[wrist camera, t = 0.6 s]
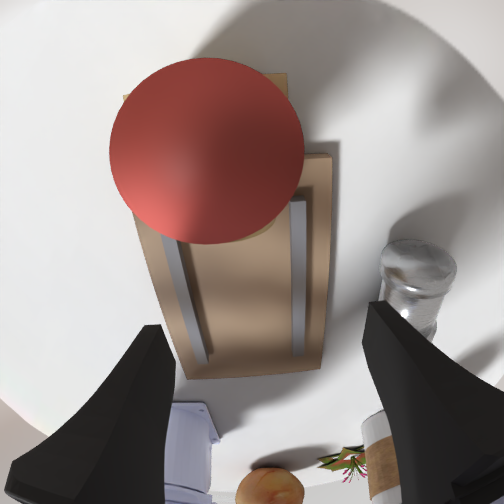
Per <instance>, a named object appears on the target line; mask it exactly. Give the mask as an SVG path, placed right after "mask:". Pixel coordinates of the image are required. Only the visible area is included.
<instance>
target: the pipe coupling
mask: <svg viewBox="0 0 504 504" xmlns="http://www.w3.org/2000/svg"><path fill="white" fill-rule="evenodd" d="M379 270H380V275H381V277H382V283H381V289H380V294H379V299H378V301H382V300H386V301H387V302H388V303H389V304H390V305H391V306H392V307H393V308H394V309H395V310H396V311H397V312H398V313H399V314H400V315H402V316H403V317H404V318H405V319H406V320H407V321H408V322H409V323H410V324H411V325H412V326H413V327H414V328H415V329H416V330H417V331H419V332H420V333H421V334H422V335H423V336H424V337H425V338H426V339H427V340H429V341H430V342H432V340H433V337H434V335H435V332H436V329H437V322H436V318H437V316H438V313H439V310H440V307H441V304H442V301H443V298H444V295H445V294H447V293H448V292H449V291H450V289H451V288H452V285H453V282H454V279H455V275H456V272H457V266H456V263H455V261H454V259H453V258H452V257H451V256H450V255H449V254H448V253H447V252H446V251H445V250H443V249H442V248H440V247H438V246H436V245H434V244H431V243H428V242H424V241H419V240H399V241H395V242H392V243H390V244H389V245H387V246H386V247H385V248H384V249H383V251H382V256H381V262H380V269H379Z"/></svg>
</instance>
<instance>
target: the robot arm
mask: <svg viewBox="0 0 504 504" xmlns="http://www.w3.org/2000/svg"><path fill="white" fill-rule="evenodd" d="M362 345H363V349H364V353H365V357H366V361H367V365H368V368H369V371H370V373H371V376H372V379H373V381H374V384H375V387H376V389H377V392H378V394H379V397H380V400H381V402H382V405H383V408H384V410H385V413H386V416H387V419H388V422H389V425H390V430H391V434H392V439H393V443H394V448H395V453H396V459H397V465H398V471H399V479H400V487H401V499H402V504H504V392H503V391H501V390H499V389H497V388H495V387H493V386H492V385H490V384H488V383H486V382H485V381H483V380H481V379H480V378H478V377H476V376H475V375H473V374H472V373H470V372H469V371H467V370H466V369H464V368H463V367H461V366H460V365H459V364H457V363H456V362H454V361H453V360H452V359H450V358H449V357H448V356H447V355H445V354H444V353H443V352H442V351H440V350H439V349H438V348H437V347H436V346H434V345H433V344H432V343H431V342H430V341H429V340H427V339H426V338H425V337H424V336H423V335H422V334H421V333H420V332H419V331H417V330H416V329H415V328H414V327H413V326H412V325H411V324H410V323H409V322H408V321H407V320H406V319H405V318H404V317H403V316H402V315H400V314H399V313H398V312H397V311H396V310H395V309H394V308H393V307H392V306H391V305H390V304H389V303H388V302H387V301H386V300H382V301H376V302H369V306H368V312H367V318H366V323H365V329H364V334H363V339H362ZM175 370H176V361H175V359H174V356H173V354H172V351H171V349H170V347H169V344H168V342H167V339H166V337H165V334H164V332H163V329H162V326H161V324H159V325H145V326H144V327H143V328H142V329H141V331H140V332H139V334H138V335H137V336H136V338H135V339H134V341H133V342H132V344H131V345H130V346H129V348H128V349H127V351H126V352H125V354H124V355H123V356H122V358H121V359H120V361H119V362H118V363H117V365H116V366H115V367H114V369H113V370H112V372H111V373H110V374H109V376H108V377H107V378H106V379H105V381H104V382H103V383H102V384H101V386H100V387H99V388H98V389H97V391H96V392H95V393H94V394H93V395H92V397H91V398H90V399H89V400H88V401H87V402H86V403H85V404H84V405H83V406H82V407H81V409H80V410H79V411H78V412H77V413H76V414H75V415H74V416H72V417H71V418H70V419H69V420H68V421H67V422H66V423H65V424H64V425H63V426H61V427H60V428H59V429H58V430H57V431H56V432H55V433H53V434H52V435H51V436H50V437H48V438H47V439H46V440H44V441H43V442H42V443H41V444H39V445H38V446H36V447H35V448H33V449H32V450H30V451H29V452H27V453H25V454H24V455H22V456H20V457H19V458H17V459H16V460H14V461H12V464H11V468H10V471H9V474H8V478H7V482H6V485H5V489H4V491H5V493H6V494H7V495H8V496H10V497H11V498H13V499H15V500H17V501H18V502H20V503H22V504H217V503H215V502H212V495H209V494H207V493H208V491H209V489H210V485H211V458H212V444H219V443H220V438H219V436H218V433H217V431H216V429H215V426H214V424H213V421H212V419H211V416H210V414H209V411H208V409H207V406H206V404H204V403H172V400H173V394H174V388H175Z"/></svg>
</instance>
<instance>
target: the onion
mask: <svg viewBox="0 0 504 504" xmlns="http://www.w3.org/2000/svg"><path fill="white" fill-rule="evenodd" d="M303 499H304V487H303V485H302V484H301V482H300V481H299V480H298V479H297V478H296V477H295V476H294V475H293V474H292V473H290V472H289V471H287V470H285V469H282V468H259V469H256V470H254V471H252V472H251V473H249V474H248V475H247V476H246V477H245V478H244V479H243V480H242V481H241V483H240V485H239V487H238V490H237V493H236V498H235V501H236V504H302V503H303Z"/></svg>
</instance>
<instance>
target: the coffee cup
mask: <svg viewBox="0 0 504 504" xmlns="http://www.w3.org/2000/svg"><path fill="white" fill-rule="evenodd" d="M361 431H362V437H363V443H364V449H365V459H366V466H367V475H368V483H369V493H370V500H372V503H373V504H402V499H401V487H400V479H399V471H398V465H397V459H396V453H395V448H394V443H393V439H392V434H391V430H390V425H389V422H388V419H387V416H386V413H385V410H384V411H382V412H379V413H377V414H375V415H373V416H371V417H369V418H368V419H367V420H365V421H364V422H363V424H362V426H361Z"/></svg>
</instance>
